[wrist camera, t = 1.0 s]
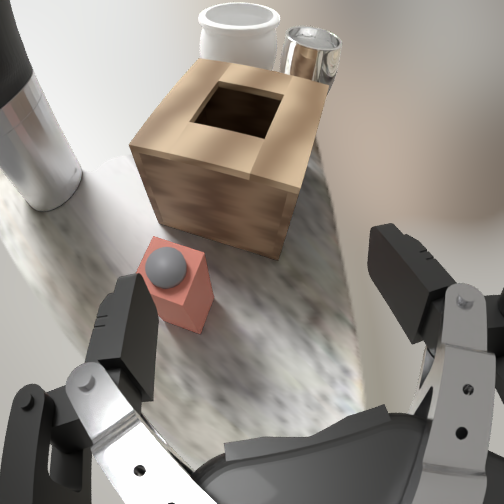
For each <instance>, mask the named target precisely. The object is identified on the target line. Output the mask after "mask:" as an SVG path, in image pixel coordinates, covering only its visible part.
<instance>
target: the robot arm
mask: <svg viewBox="0 0 504 504" xmlns="http://www.w3.org/2000/svg"><path fill="white" fill-rule="evenodd" d="M0 169H1V170H2V172H3V173H4V174H5V175H6V177H7V178H8V179H9V180H10V182H11V183H12V184H13V185H14V187H15V188H16V189H17V190H18V192H19V193H20V194H21V195H22V196H23V198H24V199H25V200H26V201H27V202H28V203H29V205H30V206H31V207H32V208H33V209H35V210H37V211H49V210H52V209H55V208H57V207H59V206H60V205H62V204H63V203H64V202H66V201H67V200H68V199H69V198H70V197H71V196H72V195H73V193H74V192H75V191H76V189H77V187H78V185H79V183H80V180H81V176H82V169H81V166H80V164H79V162H78V160H77V158H76V157H75V155H74V153H73V151H72V149H71V147H70V145H69V143H68V141H67V139H66V137H65V135H64V134H63V132H62V130H61V128H60V126H59V124H58V122H57V120H56V118H55V116H54V114H53V112H52V110H51V108H50V105H49V103H48V101H47V99H46V97H45V95H44V93H43V91H42V89H41V87H40V84H39V82H38V80H37V78H36V76H35V73H34V71H33V69H32V66H31V64H30V62H29V59H28V56H27V54H26V51H25V48H24V45H23V42H22V40H21V37H20V34H19V31H18V29H17V26H16V22H15V19H14V15H13V12H12V8H11V4H10V0H0ZM367 264H368V271H369V275H370V277H371V279H372V281H373V282H374V284H375V285H376V287H377V288H378V290H379V292H380V293H381V295H382V296H383V298H384V299H385V301H386V302H387V304H388V306H389V307H390V309H391V310H392V312H393V314H394V315H395V317H396V319H397V320H398V322H399V324H400V325H401V327H402V329H403V330H404V332H405V334H406V335H407V337H408V339H409V340H410V342H411V344H415V343H418V342H421V341H424V342H425V344H426V348H425V350H424V354H423V360H422V365H421V370H420V375H419V379H418V384H417V388H416V392H415V396H414V399H413V402H412V404H411V407H410V409H409V412H408V414H406V413H388V411H387V409H386V407H385V405H384V404H383V405H381V406H378V407H375V408H372V409H369V410H366V411H363V412H360V413H357V414H353V415H350V416H347V417H346V418H344V419H342V420H340V421H339V422H337V423H335V424H333V425H331V426H330V427H328V428H326V429H324V430H322V431H320V432H318V433H316V434H315V435H312V436H309V437H260V438H254V439H248V440H242V441H236V442H229V443H224V447H225V453H223V454H220V455H218V456H216V457H214V458H212V459H211V460H209V461H207V462H206V463H204V464H203V465H202V466H201V467H199V468H198V469H197V470H196V471H194V470H193V469H192V468H191V467H190V466H189V465H188V464H187V463H186V462H185V461H184V460H183V459H182V458H181V457H180V456H179V455H178V454H177V453H176V452H175V451H174V450H173V449H172V447H171V446H170V445H169V444H168V443H167V442H166V441H165V440H164V438H163V437H162V436H161V435H160V434H159V433H158V431H157V430H156V429H155V428H154V427H153V426H152V424H151V423H150V422H149V421H148V419H147V418H146V417H145V416H144V415H143V413H142V412H141V405H142V402H148V401H153V393H154V375H155V360H156V347H157V335H158V324H159V319H158V312H157V308H156V305H155V303H154V301H153V299H152V297H151V294H150V292H149V290H148V288H147V285H146V283H145V281H144V279H143V277H142V275H141V274H140V273H136V274H131V275H126V276H121V277H119V278H118V280H117V283H116V287H115V290H114V293H110V294H108V295H107V296H106V298H105V299H104V300H103V302H102V303H101V305H100V307H99V310H98V314H97V319H96V321H95V324H94V329H93V332H92V335H91V339H90V343H89V347H88V351H87V355H86V359H85V363H84V364H81V365H79V366H78V367H76V368H75V369H74V370H73V371H72V372H71V374H70V376H69V377H68V379H67V381H66V385H65V386H62V387H59V388H57V389H54V390H51V391H49V392H45V391H44V390H43V389H42V388H41V387H40V386H39V385H37V384H29V385H26V386H24V387H23V388H22V389H20V390H19V391H18V393H17V394H16V396H15V397H14V400H13V403H12V407H11V412H10V416H9V421H8V426H7V431H6V436H5V442H4V448H3V455H2V462H1V469H0V504H91V462H92V460H91V459H92V454H93V456H94V457H95V459H96V461H97V462H98V464H99V465H100V467H101V469H102V470H103V472H104V473H105V475H106V476H107V478H108V479H109V481H110V482H111V484H112V485H113V486H114V488H115V489H116V491H117V492H118V494H119V495H120V496H121V498H122V499H123V501H124V502H125V503H126V504H504V457H501V456H499V455H497V454H495V453H493V452H491V451H489V450H488V447H489V440H490V433H491V426H492V417H493V407H494V393H495V388H496V390H497V392H498V394H499V396H500V398H501V400H502V402H503V404H504V288H503V291H502V293H501V295H489V296H483V294H482V293H481V292H480V291H479V290H478V289H477V288H475V287H473V286H471V285H469V284H465V283H456V282H455V280H454V279H453V278H452V277H451V276H450V275H449V274H448V273H447V271H446V270H445V269H444V268H443V267H442V266H441V264H440V263H439V262H438V261H437V260H436V259H434V258H433V256H432V255H431V254H430V252H427V249H426V248H425V247H424V246H423V245H422V244H421V243H420V242H419V241H418V240H416V239H414V238H413V237H411V236H409V235H407V234H405V235H403V234H402V232H401V231H400V230H399V229H398V228H397V227H396V226H395V225H394V224H392V223H389V224H384V225H379V226H374V227H372V228H371V230H370V239H369V251H368V262H367ZM50 444H51V445H52V453H51V464H50V476H49V473H48V455H49V445H50Z"/></svg>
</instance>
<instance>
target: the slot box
mask: <svg viewBox="0 0 504 504" xmlns="http://www.w3.org/2000/svg"><path fill="white" fill-rule="evenodd" d="M328 88H329V85H326V84H322V83H319V82H315V81H312V80H308V79H304V78H300V77H296V76H293V75H288V74H284V73H280V72H276V71H271V70H266V69H262V68H257V67H252V66H246V65H241V64H235V63H229V62H223V61H216V60H209V59H201V58H199V59H198V60H197V61H196V62H195V63H194V64H193V65H192V67H191V68H190V69H189V70H188V71H187V72H186V73H185V74H184V76H183V77H182V78H181V79H180V80H179V81H178V82H177V83H176V85H175V86H174V87H173V88H172V89H171V91H170V92H169V93H168V94H167V96H166V97H165V98H164V99H163V100H162V102H161V103H160V104H159V105H158V107H157V108H156V109H155V110H154V112H153V113H152V114H151V115H150V117H149V118H148V119H147V121H146V122H145V123H144V125H143V126H142V127H141V129H140V130H139V131H138V133H137V134H136V135H135V137H134V138H133V140H132V141H131V142H130V144H129V147H130V149H131V152H132V155H133V158H134V161H135V163H136V166H137V169H138V171H139V174H140V177H141V179H142V182H143V185H144V187H145V190H146V193H147V195H148V198H149V200H150V203H151V205H152V208H153V210H154V213H155V215H156V218H157V220H158V223H159V224H162V225H166V226H169V227H172V228H175V229H178V230H182V231H185V232H188V233H191V234H194V235H198V236H201V237H204V238H207V239H210V240H214V241H217V242H220V243H223V244H227V245H230V246H233V247H236V248H239V249H243V250H246V251H249V252H252V253H255V254H259V255H262V256H265V257H268V258H271V259H275V260H278V259H279V256H280V253H281V250H282V247H283V244H284V240H285V237H286V234H287V231H288V228H289V224H290V221H291V218H292V215H293V211H294V208H295V205H296V202H297V198H298V195H299V192H300V188H301V185H302V181H303V178H304V175H305V171H306V168H307V164H308V161H309V157H310V154H311V150H312V147H313V143H314V139H315V136H316V132H317V129H318V125H319V121H320V118H321V114H322V110H323V107H324V103H325V99H326V96H327V92H328Z"/></svg>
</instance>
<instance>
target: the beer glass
mask: <svg viewBox="0 0 504 504" xmlns="http://www.w3.org/2000/svg"><path fill="white" fill-rule="evenodd" d="M341 47H342V41H341V39H340V38H339V37H338V36H336V35H335V34H333V33H331V32H329V31H327V30H324V29H321V28H318V27H313V26H294V27H291V28H289V29H288V30H287V31H286V35H285V40H284V44H283V48H282V53H281V58H280V68H279V72H280V73H284V74H288V75H293V76H296V77H300V78H304V79H308V80H312V81H315V82H319V83H322V84H326V85H329V88H328V92H327V94H328V93H329V91H330V89H331V86H332V84H333V82H334V79H335V76H336V73H337V69H338V65H339V59H340V54H341Z"/></svg>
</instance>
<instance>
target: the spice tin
mask: <svg viewBox="0 0 504 504" xmlns="http://www.w3.org/2000/svg"><path fill="white" fill-rule="evenodd" d="M136 273H140V274H141V275H142V277H143V279H144V281H145V283H146V285H147V288H148V290H149V292H150V294H151V297H152V299H153V301H154V303H155V305H156V308H157V312H158V316H159V317H160V318H161V319H162V320H163V321H166V322H168V323H171V324H174V325H176V326H179V327H182V328H184V329H187V330H190V331H192V332H195V333H198V334H201V332H202V329H203V326H204V324H205V321H206V318H207V315H208V313H209V310H210V307H211V305H212V302H213V299H214V295H213V291H212V286H211V281H210V277H209V272H208V268H207V263H206V258H205V253H204V252H201V251H198V250H195V249H192V248H189V247H185V246H182V245H179V244H176V243H173V242H170V241H167V240H164V239H161V238H158V237H155V236H153V238H152V240H151V242H150V244H149V246H148V248H147V250H146V252H145V254H144V257H143V259H142V261H141V263H140V265H139V267H138V269H137V272H136Z"/></svg>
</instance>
